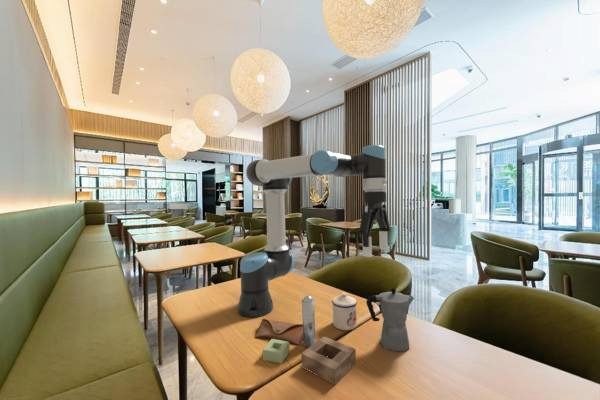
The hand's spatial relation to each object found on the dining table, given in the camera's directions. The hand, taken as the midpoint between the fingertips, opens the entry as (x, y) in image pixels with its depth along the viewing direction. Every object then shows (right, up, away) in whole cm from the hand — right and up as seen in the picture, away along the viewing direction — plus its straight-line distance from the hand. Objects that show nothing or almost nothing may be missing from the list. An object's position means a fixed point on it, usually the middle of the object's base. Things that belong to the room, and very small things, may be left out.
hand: (375, 252), depth 87 cm
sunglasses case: (-33, -30, +1) cm, 44 cm away
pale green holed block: (-33, -29, -11) cm, 45 cm away
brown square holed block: (-18, -29, -16) cm, 37 cm away
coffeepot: (+3, -28, -6) cm, 29 cm away
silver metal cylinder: (-23, -29, -5) cm, 37 cm away
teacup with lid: (-9, -28, +8) cm, 31 cm away
